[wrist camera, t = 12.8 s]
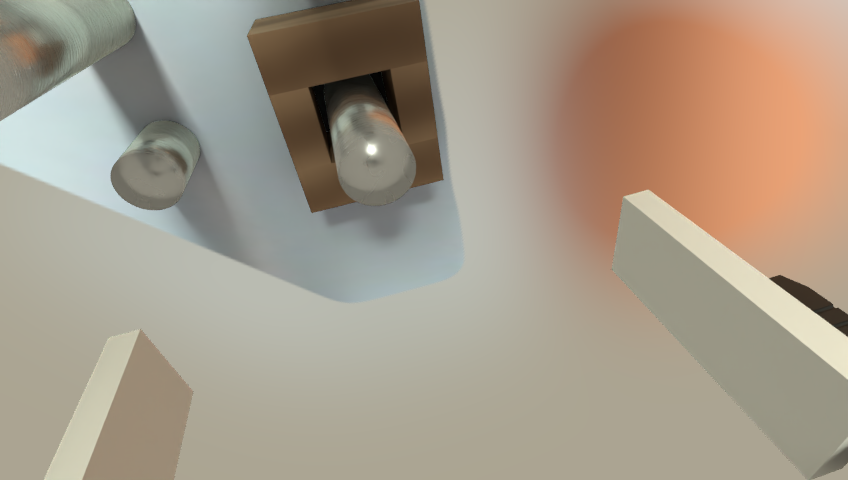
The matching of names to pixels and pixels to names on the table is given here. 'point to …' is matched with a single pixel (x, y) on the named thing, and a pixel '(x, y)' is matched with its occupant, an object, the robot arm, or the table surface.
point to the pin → (367, 143)
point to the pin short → (156, 166)
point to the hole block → (341, 59)
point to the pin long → (55, 43)
